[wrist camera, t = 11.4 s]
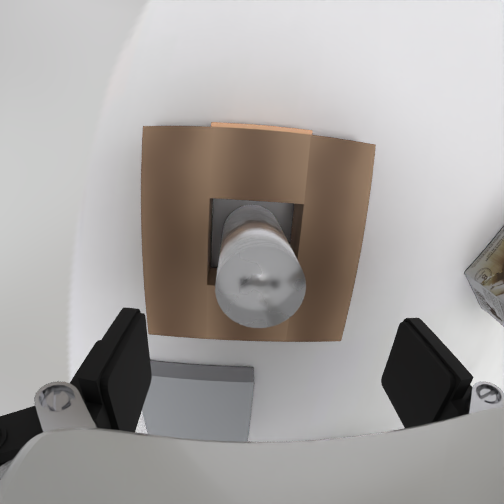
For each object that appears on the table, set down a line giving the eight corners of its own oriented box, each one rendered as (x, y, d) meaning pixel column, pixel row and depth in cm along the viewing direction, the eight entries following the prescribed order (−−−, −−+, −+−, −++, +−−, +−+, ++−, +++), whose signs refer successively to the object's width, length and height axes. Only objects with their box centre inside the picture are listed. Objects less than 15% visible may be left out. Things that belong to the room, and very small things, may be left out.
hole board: (358, 139, 20) (376, 140, 18) (330, 320, 25) (340, 341, 22) (155, 123, 19) (143, 121, 17) (157, 313, 24) (148, 334, 21)
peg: (282, 206, 22) (311, 249, 13) (277, 260, 23) (299, 329, 15) (224, 203, 22) (216, 243, 13) (221, 257, 23) (214, 326, 14)
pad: (253, 367, 26) (254, 382, 24) (246, 434, 30) (246, 449, 28) (139, 359, 26) (134, 373, 24) (153, 428, 29) (149, 441, 27)
